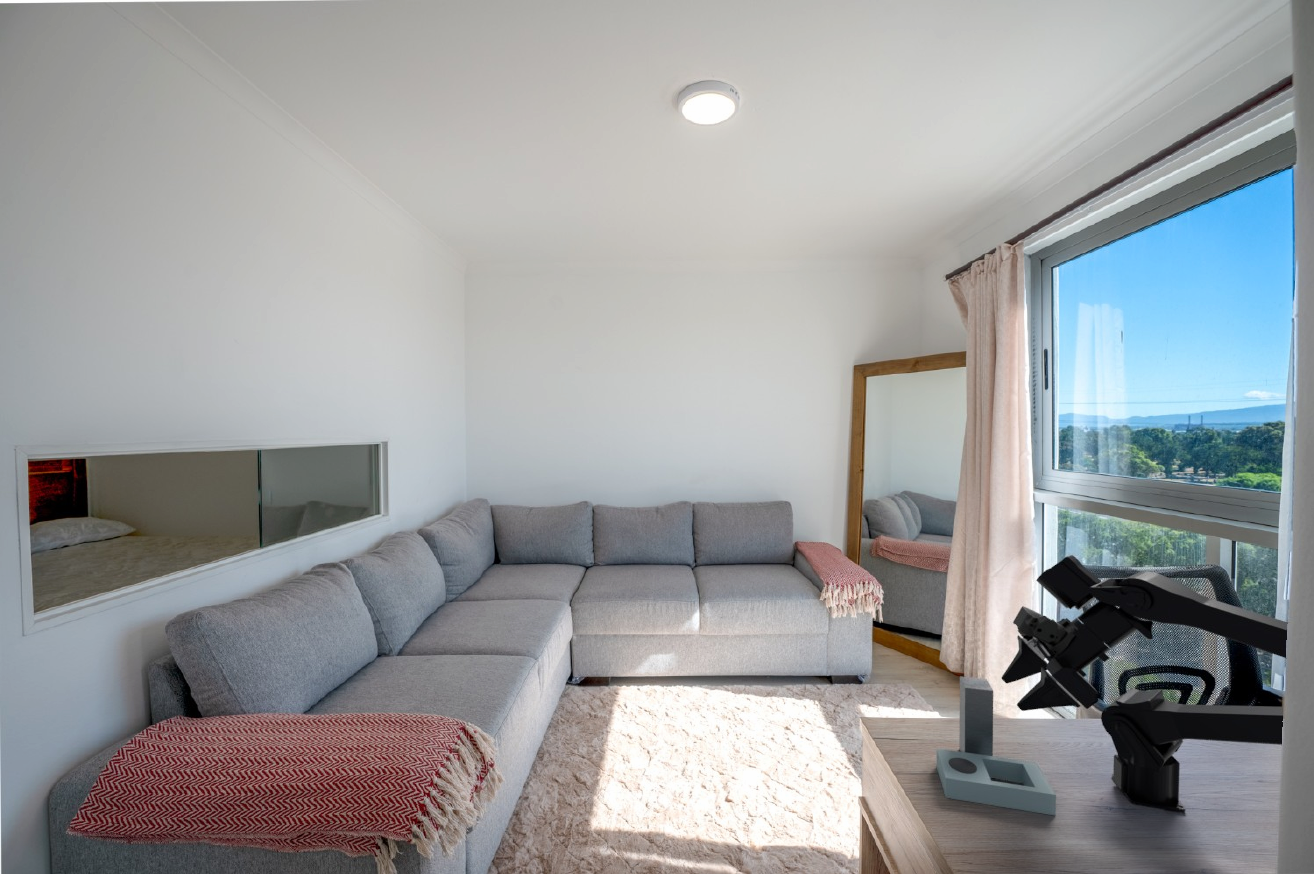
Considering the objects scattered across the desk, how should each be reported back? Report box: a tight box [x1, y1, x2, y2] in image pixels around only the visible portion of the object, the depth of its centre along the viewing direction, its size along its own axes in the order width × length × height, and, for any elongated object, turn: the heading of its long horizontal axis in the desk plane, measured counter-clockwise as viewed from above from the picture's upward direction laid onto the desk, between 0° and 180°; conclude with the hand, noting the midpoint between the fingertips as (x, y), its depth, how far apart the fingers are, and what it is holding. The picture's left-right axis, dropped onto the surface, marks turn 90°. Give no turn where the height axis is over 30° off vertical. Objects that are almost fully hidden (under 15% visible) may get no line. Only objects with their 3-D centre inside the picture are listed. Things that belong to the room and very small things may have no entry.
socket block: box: [936, 748, 1057, 817], centre depth 86 cm, size 14×8×3 cm, turn 73°
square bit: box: [958, 676, 994, 756], centre depth 93 cm, size 4×4×12 cm
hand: (1011, 693), depth 92 cm, fingers open, 9 cm apart
